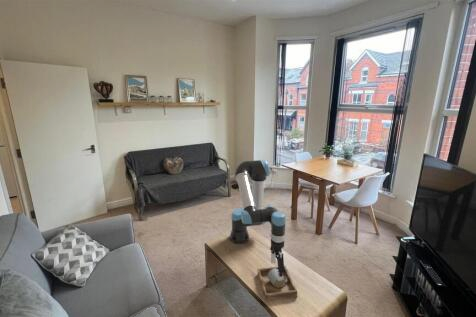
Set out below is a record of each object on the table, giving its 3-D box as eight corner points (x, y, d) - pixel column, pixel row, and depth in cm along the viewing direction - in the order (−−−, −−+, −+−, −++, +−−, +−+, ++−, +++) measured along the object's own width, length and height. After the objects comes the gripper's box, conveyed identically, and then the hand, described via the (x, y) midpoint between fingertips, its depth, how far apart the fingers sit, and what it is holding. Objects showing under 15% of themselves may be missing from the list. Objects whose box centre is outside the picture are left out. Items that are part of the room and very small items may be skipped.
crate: (257, 274, 145) (257, 268, 144) (285, 271, 147) (285, 265, 146) (265, 301, 126) (265, 295, 125) (297, 297, 128) (297, 291, 127)
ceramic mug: (274, 290, 131) (275, 279, 129) (267, 280, 138) (267, 269, 136) (289, 284, 135) (290, 273, 133) (281, 275, 142) (282, 264, 140)
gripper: (265, 227, 140) (265, 257, 145) (277, 254, 116) (276, 288, 121) (277, 226, 141) (276, 256, 146) (292, 253, 117) (290, 287, 122)
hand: (276, 271), depth 134 cm, fingers open, 13 cm apart
